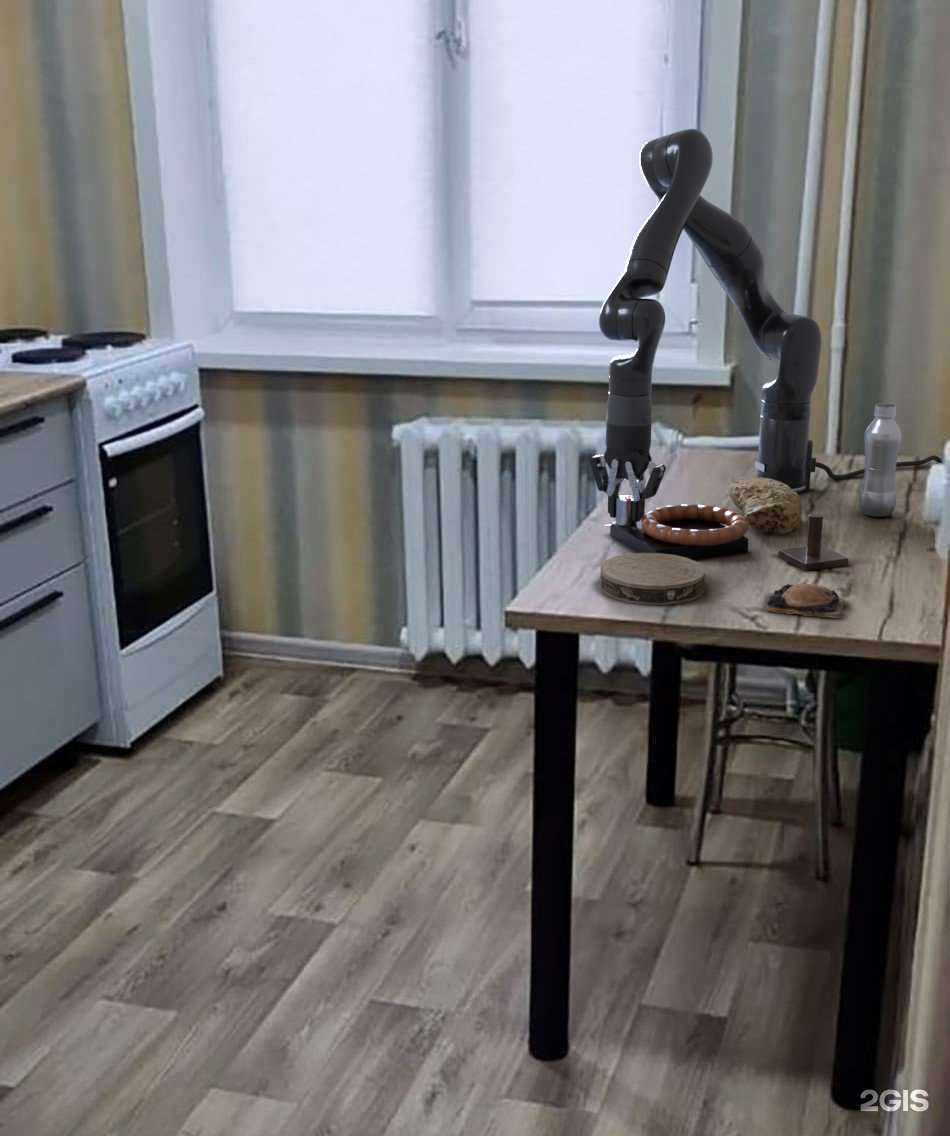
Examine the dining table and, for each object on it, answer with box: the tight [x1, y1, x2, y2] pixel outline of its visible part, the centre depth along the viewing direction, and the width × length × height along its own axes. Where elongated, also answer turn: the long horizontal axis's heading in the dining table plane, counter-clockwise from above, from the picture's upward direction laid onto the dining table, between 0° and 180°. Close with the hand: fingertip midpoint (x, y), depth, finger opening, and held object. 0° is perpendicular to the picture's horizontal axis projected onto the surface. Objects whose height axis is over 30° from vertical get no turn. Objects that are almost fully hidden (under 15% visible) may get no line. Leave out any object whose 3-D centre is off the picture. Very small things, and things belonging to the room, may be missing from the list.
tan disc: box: [599, 552, 706, 606], centre depth 209 cm, size 16×16×3 cm
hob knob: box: [614, 494, 637, 526], centre depth 232 cm, size 4×4×5 cm
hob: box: [604, 520, 749, 561], centre depth 230 cm, size 19×19×3 cm
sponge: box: [729, 477, 804, 535], centre depth 242 cm, size 13×8×20 cm
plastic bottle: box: [858, 402, 903, 518], centre depth 241 cm, size 6×7×20 cm
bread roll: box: [765, 582, 846, 619], centre depth 200 cm, size 11×8×4 cm
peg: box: [777, 512, 850, 572], centre depth 219 cm, size 8×8×8 cm
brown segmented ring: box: [641, 503, 749, 546], centre depth 227 cm, size 17×17×3 cm
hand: (625, 518), depth 232 cm, fingers closed on hob knob, 3 cm apart
